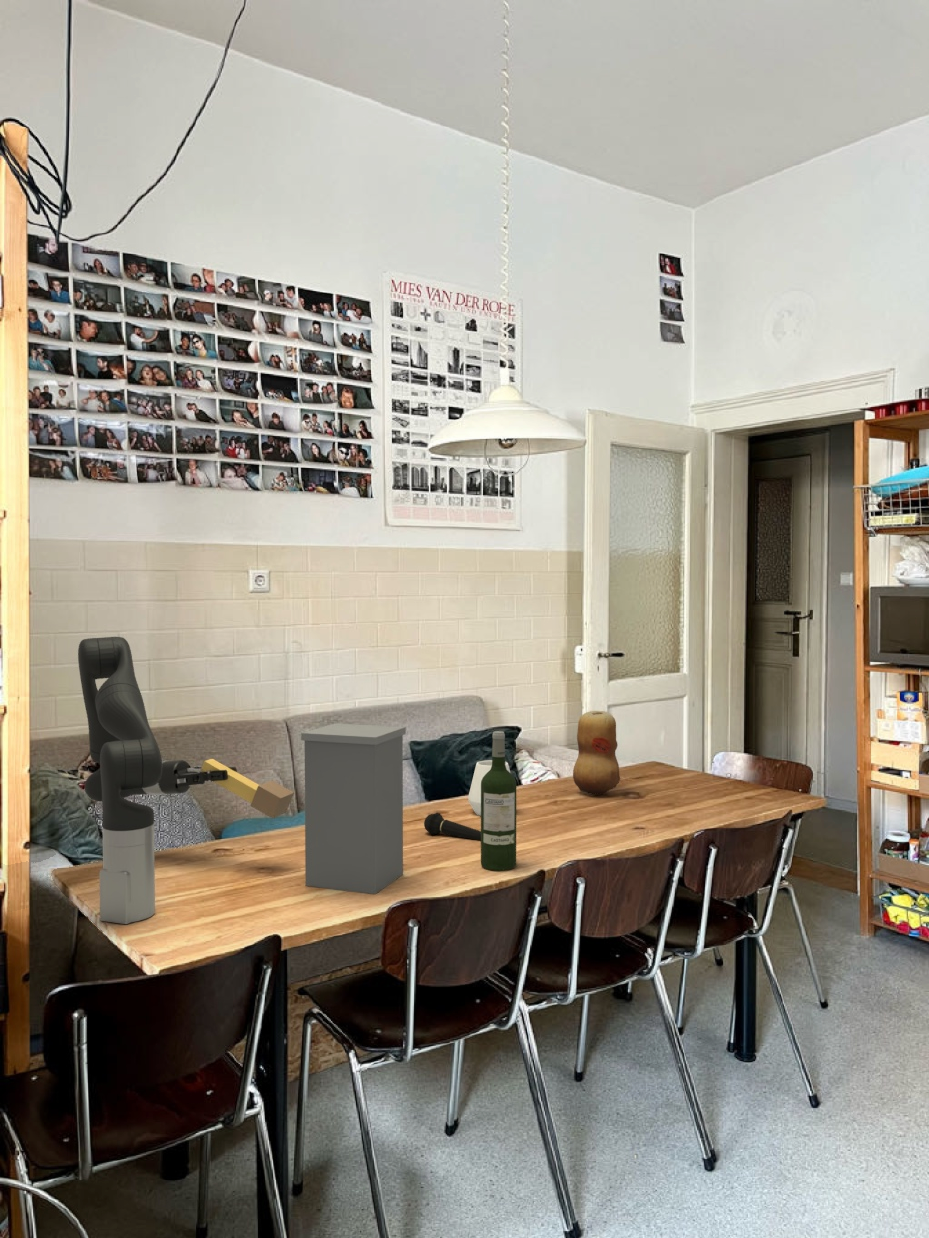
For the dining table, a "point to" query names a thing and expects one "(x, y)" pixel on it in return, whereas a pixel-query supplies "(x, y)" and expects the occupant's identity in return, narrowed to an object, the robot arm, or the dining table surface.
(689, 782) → the dining table surface
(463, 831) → the microphone
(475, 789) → the cup
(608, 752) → the butternut squash
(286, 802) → the peg
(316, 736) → the stand
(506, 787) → the wine bottle
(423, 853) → the dining table surface
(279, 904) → the dining table surface
